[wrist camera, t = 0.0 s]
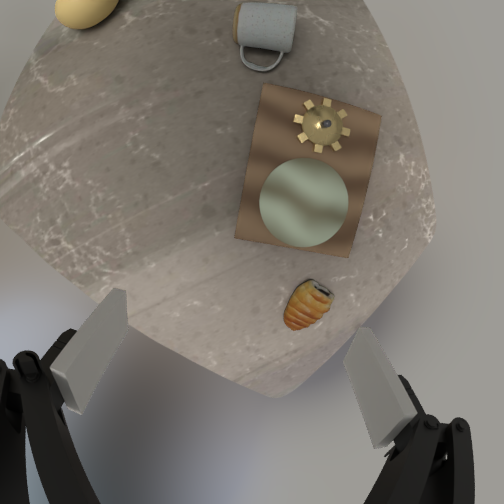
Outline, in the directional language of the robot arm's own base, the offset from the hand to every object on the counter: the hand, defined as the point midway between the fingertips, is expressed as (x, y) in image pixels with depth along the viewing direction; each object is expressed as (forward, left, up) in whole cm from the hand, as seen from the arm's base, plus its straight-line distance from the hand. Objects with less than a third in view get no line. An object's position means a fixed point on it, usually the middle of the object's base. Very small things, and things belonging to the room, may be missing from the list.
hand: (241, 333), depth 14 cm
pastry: (+13, +13, -28) cm, 34 cm away
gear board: (-8, +8, -28) cm, 30 cm away
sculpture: (-35, -33, -28) cm, 56 cm away
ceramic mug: (-27, -2, -28) cm, 39 cm away
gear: (-15, +8, -27) cm, 32 cm away
